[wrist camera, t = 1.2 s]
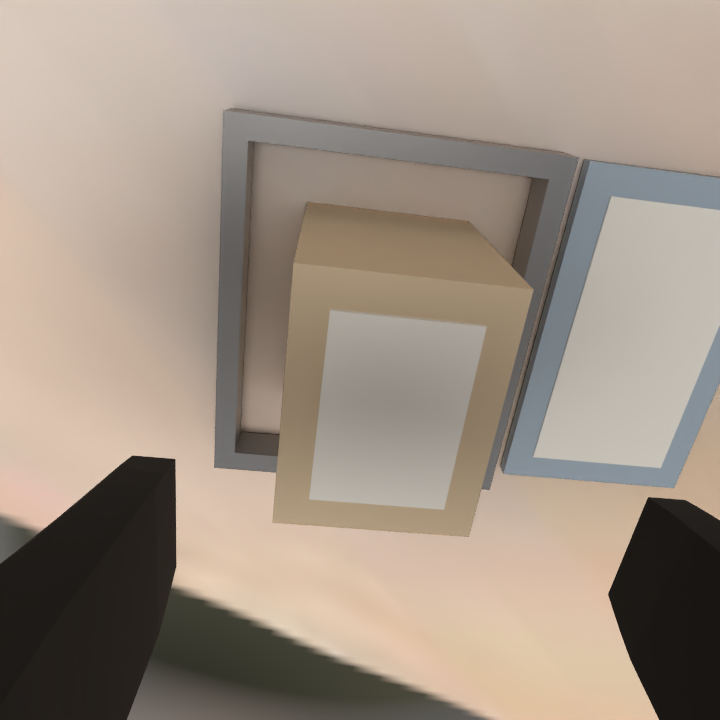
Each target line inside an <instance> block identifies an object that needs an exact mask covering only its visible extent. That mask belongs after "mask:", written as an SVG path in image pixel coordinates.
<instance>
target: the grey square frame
mask: <svg viewBox="0 0 720 720" xmlns="http://www.w3.org/2000/svg"><path fill="white" fill-rule="evenodd" d="M254 142H262V143H270V144H278V145H285V146H293V147H301V148H309V149H316V150H324V151H332V152H340V153H348V154H355V155H363V156H371V157H379V158H386V159H394V160H402V161H410V162H418V163H425V164H433V165H441V166H449V167H456V168H464V169H472V170H480V171H488V172H495V173H503V174H511V175H519V176H526V177H534V178H533V182H532V186H531V190H530V194H529V198H528V203H527V207H526V211H525V215H524V219H523V223H522V227H521V231H520V236H519V240H518V244H517V248H516V252H515V256H514V260H513V265H512V267H513V268H514V269H515V271H516V272H517V273H518V274H519V275H520V276H521V277H522V278H523V279H524V280H525V281H526V282H527V283H528V284H529V285H530V286H531V287H532V288H533V289H534V290H533V294H532V298H531V302H530V306H529V309H528V313H527V317H526V321H525V325H524V329H523V332H522V336H521V340H520V344H519V348H518V351H517V355H516V359H515V363H514V367H513V370H512V374H511V378H510V382H509V386H508V389H507V393H506V397H505V401H504V405H503V408H502V412H501V416H500V420H499V424H498V428H497V431H496V435H495V439H494V443H493V447H492V450H491V454H490V458H489V462H488V466H487V469H486V473H485V477H484V481H483V485H482V488H481V489H485V490H490V486H491V482H492V478H493V475H494V471H495V467H496V464H497V460H498V456H499V452H500V449H501V445H502V441H503V438H504V434H505V430H506V426H507V423H508V419H509V415H510V412H511V408H512V404H513V400H514V397H515V393H516V389H517V386H518V382H519V378H520V374H521V371H522V367H523V363H524V360H525V356H526V352H527V348H528V345H529V341H530V337H531V334H532V330H533V326H534V322H535V319H536V315H537V311H538V308H539V304H540V300H541V296H542V293H543V289H544V285H545V282H546V278H547V274H548V270H549V267H550V263H551V259H552V256H553V252H554V248H555V244H556V241H557V237H558V233H559V230H560V226H561V222H562V218H563V215H564V211H565V207H566V204H567V200H568V196H569V192H570V189H571V185H572V181H573V178H574V174H575V170H576V166H577V163H578V159H579V157H576V156H572V155H569V154H566V153H563V152H556V151H549V150H541V149H534V148H526V147H519V146H511V145H504V144H496V143H489V142H481V141H473V140H466V139H458V138H451V137H443V136H436V135H428V134H421V133H413V132H406V131H398V130H391V129H383V128H376V127H368V126H361V125H353V124H346V123H338V122H331V121H323V120H316V119H308V118H301V117H293V116H285V115H278V114H270V113H263V112H255V111H248V110H240V109H233V108H231V109H227V110H223V147H222V186H221V225H220V264H219V303H218V342H217V381H216V420H215V459H214V468H226V469H238V470H251V471H263V472H275V473H277V460H278V448H279V436H280V435H272V434H260V433H249V432H240V431H241V410H242V389H243V367H244V346H245V325H246V303H247V282H248V261H249V239H250V218H251V197H252V175H253V154H254Z"/></svg>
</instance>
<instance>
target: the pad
mask: <svg viewBox="0 0 720 720" xmlns="http://www.w3.org/2000/svg"><path fill="white" fill-rule="evenodd" d="M719 383H720V177H714V176H707V175H699V174H692V173H684V172H677V171H669V170H661V169H654V168H646V167H639V166H631V165H624V164H616V163H609V162H601V161H594V160H586V159H584V163H583V167H582V170H581V174H580V177H579V181H578V185H577V188H576V192H575V196H574V199H573V203H572V207H571V210H570V214H569V218H568V221H567V225H566V229H565V232H564V236H563V240H562V243H561V247H560V251H559V254H558V258H557V262H556V265H555V269H554V273H553V276H552V280H551V284H550V287H549V291H548V295H547V298H546V302H545V306H544V309H543V313H542V316H541V320H540V324H539V327H538V331H537V335H536V338H535V342H534V346H533V349H532V353H531V357H530V360H529V364H528V368H527V371H526V375H525V379H524V382H523V386H522V390H521V393H520V397H519V401H518V404H517V408H516V412H515V415H514V419H513V423H512V426H511V430H510V434H509V437H508V441H507V445H506V448H505V452H504V455H503V459H502V463H501V466H500V467H501V469H502V472H503V474H511V475H523V476H535V477H547V478H559V479H571V480H583V481H595V482H606V483H618V484H630V485H642V486H654V487H666V488H674V487H675V485H676V482H677V480H678V478H679V475H680V473H681V471H682V468H683V466H684V464H685V461H686V459H687V457H688V454H689V452H690V450H691V448H692V445H693V443H694V441H695V438H696V436H697V434H698V431H699V429H700V427H701V424H702V422H703V420H704V417H705V415H706V413H707V410H708V408H709V406H710V404H711V401H712V399H713V397H714V394H715V392H716V390H717V387H718V385H719Z"/></svg>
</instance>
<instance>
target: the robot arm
mask: <svg viewBox="0 0 720 720" xmlns="http://www.w3.org/2000/svg"><path fill="white" fill-rule="evenodd" d="M175 569H176V479H175V459H167V458H155V457H143V456H131V457H130V458H129V459H127V460H126V461H125V462H124V463H122V464H121V465H120V466H119V467H117V468H116V469H115V470H114V471H113V472H111V473H110V474H109V475H108V476H107V477H106V478H104V479H103V480H102V481H101V482H100V483H99V484H97V485H96V486H95V487H94V488H93V489H92V490H90V491H89V492H88V493H87V494H86V495H85V496H83V497H82V498H81V499H80V500H79V501H77V502H76V503H75V504H74V505H73V506H71V507H70V508H69V509H68V510H67V511H65V512H64V513H63V514H62V515H61V516H60V517H58V518H57V519H56V520H55V521H53V522H52V523H51V524H50V525H48V526H47V527H46V528H45V529H43V530H42V531H41V532H40V533H38V534H37V535H36V536H35V537H34V538H32V539H31V540H30V541H28V542H27V543H26V544H25V545H24V546H22V547H21V548H20V549H19V550H17V551H16V552H15V553H14V554H12V555H11V556H10V557H8V558H7V559H6V560H5V561H3V562H2V563H1V564H0V720H127V717H128V715H129V712H130V709H131V707H132V704H133V702H134V699H135V696H136V694H137V691H138V688H139V686H140V683H141V680H142V678H143V675H144V672H145V670H146V667H147V665H148V662H149V659H150V656H151V654H152V651H153V648H154V646H155V643H156V640H157V637H158V635H159V631H160V628H161V624H162V620H163V617H164V613H165V609H166V605H167V601H168V597H169V593H170V589H171V585H172V581H173V577H174V573H175ZM608 595H609V598H610V601H611V605H612V608H613V611H614V614H615V617H616V620H617V623H618V626H619V629H620V632H621V635H622V638H623V640H624V643H625V646H626V649H627V651H628V654H629V657H630V660H631V662H632V664H633V666H634V668H635V670H636V672H637V675H638V677H639V679H640V681H641V683H642V685H643V687H644V689H645V691H646V693H647V695H648V697H649V699H650V701H651V704H652V706H653V708H654V710H655V712H656V714H657V716H658V718H659V720H720V521H719V520H718V519H716V518H715V517H713V516H712V515H710V514H708V513H707V512H705V511H703V510H702V509H700V508H698V507H697V506H695V505H693V504H691V503H689V502H688V501H686V500H676V499H663V498H651V497H648V499H647V501H646V504H645V506H644V509H643V511H642V513H641V516H640V518H639V521H638V523H637V526H636V528H635V530H634V533H633V535H632V538H631V540H630V543H629V545H628V547H627V550H626V552H625V555H624V557H623V560H622V562H621V564H620V567H619V569H618V572H617V574H616V577H615V579H614V581H613V584H612V586H611V589H610V591H609V594H608Z"/></svg>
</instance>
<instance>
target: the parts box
mask: <svg viewBox="0 0 720 720" xmlns="http://www.w3.org/2000/svg"><path fill="white" fill-rule="evenodd" d="M533 290H534V289H533V288H532V287H531V286H530V285H529V284H528V283H527V282H526V281H525V280H524V279H523V278H522V277H521V276H520V275H519V274H518V273H517V272H516V271H515V269H514V268H513V267H512V266H511V265H510V264H509V263H508V262H507V261H506V260H505V259H504V258H503V257H502V256H501V255H500V254H499V253H498V252H497V251H496V249H495V248H494V247H493V246H492V245H491V244H490V243H489V242H488V241H487V240H486V239H485V238H484V237H483V236H482V235H481V234H480V233H479V232H478V231H477V230H476V228H475V227H474V226H473V225H472V224H471V223H470V222H469V221H461V220H453V219H445V218H437V217H428V216H420V215H412V214H404V213H395V212H387V211H379V210H371V209H362V208H354V207H346V206H338V205H329V204H321V203H313V202H307V206H306V210H305V214H304V219H303V223H302V227H301V232H300V236H299V240H298V245H297V249H296V254H295V258H294V262H293V274H292V286H291V298H290V311H289V323H288V336H287V348H286V361H285V373H284V386H283V398H282V411H281V423H280V436H279V448H278V460H277V473H276V485H275V498H274V510H273V523H284V524H298V525H312V526H326V527H340V528H353V529H367V530H381V531H395V532H408V533H422V534H436V535H450V536H464V537H469V534H470V530H471V527H472V523H473V519H474V515H475V511H476V508H477V504H478V500H479V496H480V492H481V488H482V485H483V481H484V477H485V473H486V469H487V466H488V462H489V458H490V454H491V450H492V447H493V443H494V439H495V435H496V431H497V428H498V424H499V420H500V416H501V412H502V408H503V405H504V401H505V397H506V393H507V389H508V386H509V382H510V378H511V374H512V370H513V367H514V363H515V359H516V355H517V351H518V348H519V344H520V340H521V336H522V332H523V329H524V325H525V321H526V317H527V313H528V309H529V306H530V302H531V298H532V294H533Z"/></svg>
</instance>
